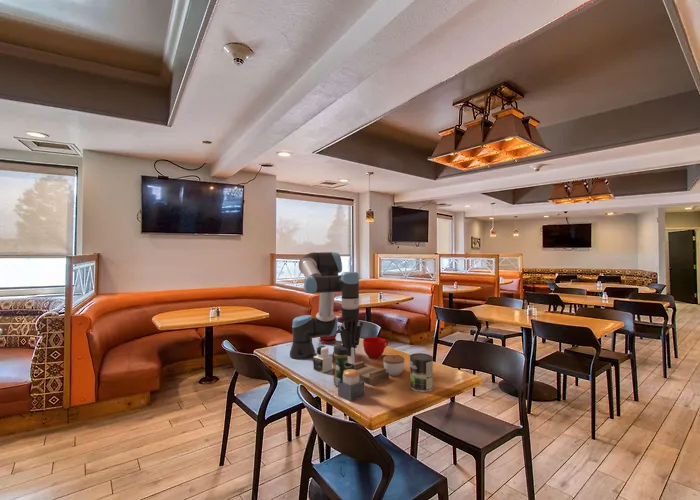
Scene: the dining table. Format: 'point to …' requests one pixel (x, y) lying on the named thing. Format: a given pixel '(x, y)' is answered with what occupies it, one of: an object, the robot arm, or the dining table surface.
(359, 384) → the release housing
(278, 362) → the dining table surface
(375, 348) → the ceramic cup
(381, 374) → the cradle rack
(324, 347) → the medicine bottle
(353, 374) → the release button
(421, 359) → the coffee can
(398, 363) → the lidded jar
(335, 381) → the coffee jar
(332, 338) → the plant pot
